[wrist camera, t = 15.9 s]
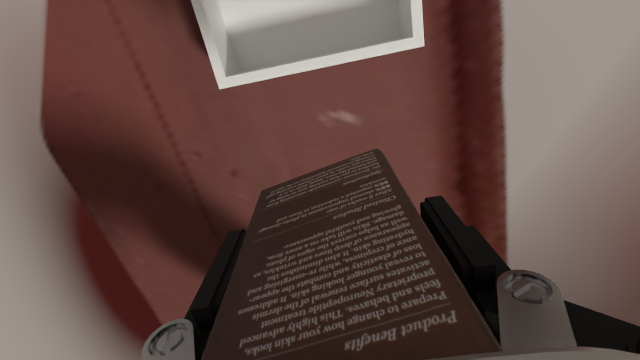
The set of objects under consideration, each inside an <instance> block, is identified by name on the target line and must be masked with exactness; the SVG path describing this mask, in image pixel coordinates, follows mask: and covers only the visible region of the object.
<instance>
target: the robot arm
mask: <svg viewBox="0 0 640 360" xmlns="http://www.w3.org/2000/svg"><path fill="white" fill-rule="evenodd" d="M420 209H421V218H422V220H423V221H424V223H425V224H426V226H427V228H428V229H429V231H430V232H431V234H432V235H433V237H434V239H435V241H436V243H437V244H438V246H439V247H440V249H441V250H442V252H443V253H444V255H445V256H446V258H447V260H448V261H449V263H450V265H451V267H452V268H453V270H454V272H455V273H456V275H457V276H458V278H459V279H460V281H461V282H462V284H463V285H464V287H465V289H466V291H467V292H468V294H469V296H470V298H471V299H472V301H473V302H474V303H475V305H476V307H477V308H478V310H479V311H480V313H481V315H482V316H483V318H484V320H485V321H486V323H487V325H488V326H489V328H490V330H491V331H492V333H493V335H494V337H495V338H496V340H497V341H498V343H499V344H500V346H501V348H502V349H503V351H499V352H492V353H481V354H470V355H462V356H453V357H445V358H437V359H428V360H640V327H639V326H636V325H634V324H631V323H627V322H625V321H622V320H619V319H616V318H613V317H611V316H608V315H605V314H602V313H599V312H596V311H593V310H590V309H588V308H584V307H582V306H579V305H576V304H573V303H570V302H567V301H564V300H563V297H562V294H561V291H560V289H559V288H558V286H557V285H556V284H555V283H554V282H553V281H552V280H550V279H549V278H547V277H545V276H544V275H541V274H539V273H536V272H533V271H528V270H511V269H510V268H509V267H508V266H507V265H506V263H505V262H504V261H503V260H502V259H501V258H500V256H499V255H498V254H497V253H496V252H495V250H494V249H493V248H492V247H491V246H490V245H489V243H488V242H487V241H486V240H485V239H484V237H483V236H482V235H481V234H480V233H479V231H478V230H477V229H476V228H475V227H474V226H465V225H464V224H463V222H462V221H461V220H460V219H459V217H458V216H457V215H456V213H455V212H454V211H453V210H452V208H451V207H450V206H449V205H448V203H447V202H446V201H445V200H444V198H443V197H442V196H435V197H429V198H425V202H422V203H420ZM245 235H246V231H245V230H244V229H241V230H235V231H230V232H229V233H228V234H227V236H226V238H225V240H224V242H223V244H222V246H221V248H220V250H219V252H218V254H217V256H216V258H215V260H214V262H213V264H212V266H211V268H210V269H209V271H208V273H207V275H206V276H205V278H204V280H203V282H202V284H201V286H200V288H199V290H198V292H197V294H196V296H195V298H194V300H193V302H192V304H191V306H190V308H189V310H188V312H187V314H186V316H185V318H184V319H176V320H173V321H170V322H168V323H166V324H164V325H162V326H161V327H160V328H158V329H157V330H156V331H154V332H153V333H152V334H151V336H150V337H149V338H148V339H147V341H146V342H145V344H144V347H143V350H142V357H141V360H201V358H202V354H203V352H204V350H205V348H206V345H207V342H208V338H209V335H210V332H211V330H212V328H213V325H214V322H215V319H216V316H217V313H218V311H219V308H220V305H221V302H222V299H223V296H224V294H225V291H226V288H227V285H228V283H229V280H230V277H231V274H232V271H233V269H234V266H235V264H236V260H237V258H238V255H239V252H240V249H241V247H242V244H243V241H244V237H245Z"/></svg>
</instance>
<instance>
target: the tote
mask: <svg viewBox="0 0 640 360" xmlns="http://www.w3.org/2000/svg"><path fill="white" fill-rule="evenodd" d="M191 2H192V6H193V9H194V12H195V15H196V18H197V21H198V24H199V27H200V30H201V34H202V37H203V40H204V43H205V46H206V49H207V52H208V55H209V58H210V62H211V65H212V68H213V71H214V74H215V77H216V80H217V83H218V86H219V89H223V88H228V87H233V86H238V85H242V84H247V83H252V82H257V81H261V80H266V79H271V78H276V77H280V76H285V75H290V74H295V73H299V72H304V71H309V70H314V69H318V68H323V67H328V66H333V65H337V64H342V63H347V62H352V61H356V60H361V59H366V58H371V57H375V56H380V55H385V54H390V53H394V52H399V51H404V50H409V49H413V48H418V47H423V46H424V32H423V14H422V0H191Z"/></svg>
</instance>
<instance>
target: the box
mask: <svg viewBox="0 0 640 360" xmlns="http://www.w3.org/2000/svg"><path fill="white" fill-rule="evenodd" d="M499 351H503V349H502V348H501V346H500V344H499V343H498V341H497V340H496V338H495V337H494V335H493V333H492V331H491V330H490V328H489V326H488V325H487V323H486V321H485V320H484V318H483V316H482V315H481V313H480V311H479V310H478V308H477V307H476V305H475V303H474V302H473V301H472V299H471V298H470V296H469V294H468V292H467V291H466V289H465V287H464V285H463V284H462V282H461V281H460V279H459V278H458V276H457V275H456V273H455V272H454V270H453V268H452V267H451V265H450V263H449V261H448V260H447V258H446V256H445V255H444V253H443V252H442V250H441V249H440V247H439V246H438V244H437V243H436V241H435V239H434V237H433V235H432V234H431V232H430V231H429V229H428V228H427V226H426V224H425V223H424V221H423V220H422V218H421V216H420V215H419V213H418V211H417V210H416V208H415V206H414V205H413V203H412V201H411V199H410V198H409V196H408V195H407V193H406V192H405V190H404V188H403V187H402V185H401V183H400V182H399V180H398V178H397V176H396V175H395V173H394V171H393V170H392V168H391V166H390V164H389V162H388V161H387V159H386V158H385V156H384V154H383V153H382V152H381V151H380V150H379V149H378V148H377V149H373V150H371V151H368V152H365V153H362V154H359V155H357V156H354V157H351V158H348V159H346V160H343V161H340V162H337V163H335V164H332V165H329V166H326V167H324V168H321V169H318V170H316V171H313V172H310V173H308V174H305V175H302V176H300V177H297V178H294V179H291V180H289V181H286V182H283V183H281V184H278V185H276V186H273V187H270V188H268V189H265V190H262V191H261V194H260V197H259V199H258V203H257V205H256V208H255V210H254V213H253V216H252V218H251V221H250V224H249V227H248V230H247V232H246V235H245V237H244V241H243V244H242V247H241V249H240V252H239V255H238V258H237V260H236V264H235V266H234V269H233V271H232V274H231V277H230V280H229V283H228V285H227V288H226V291H225V294H224V296H223V299H222V302H221V305H220V308H219V311H218V313H217V316H216V319H215V322H214V325H213V328H212V330H211V332H210V335H209V338H208V342H207V345H206V348H205V350H204V352H203V354H202V358H201V360H428V359H437V358H445V357H453V356H462V355H470V354H481V353H492V352H499Z"/></svg>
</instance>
